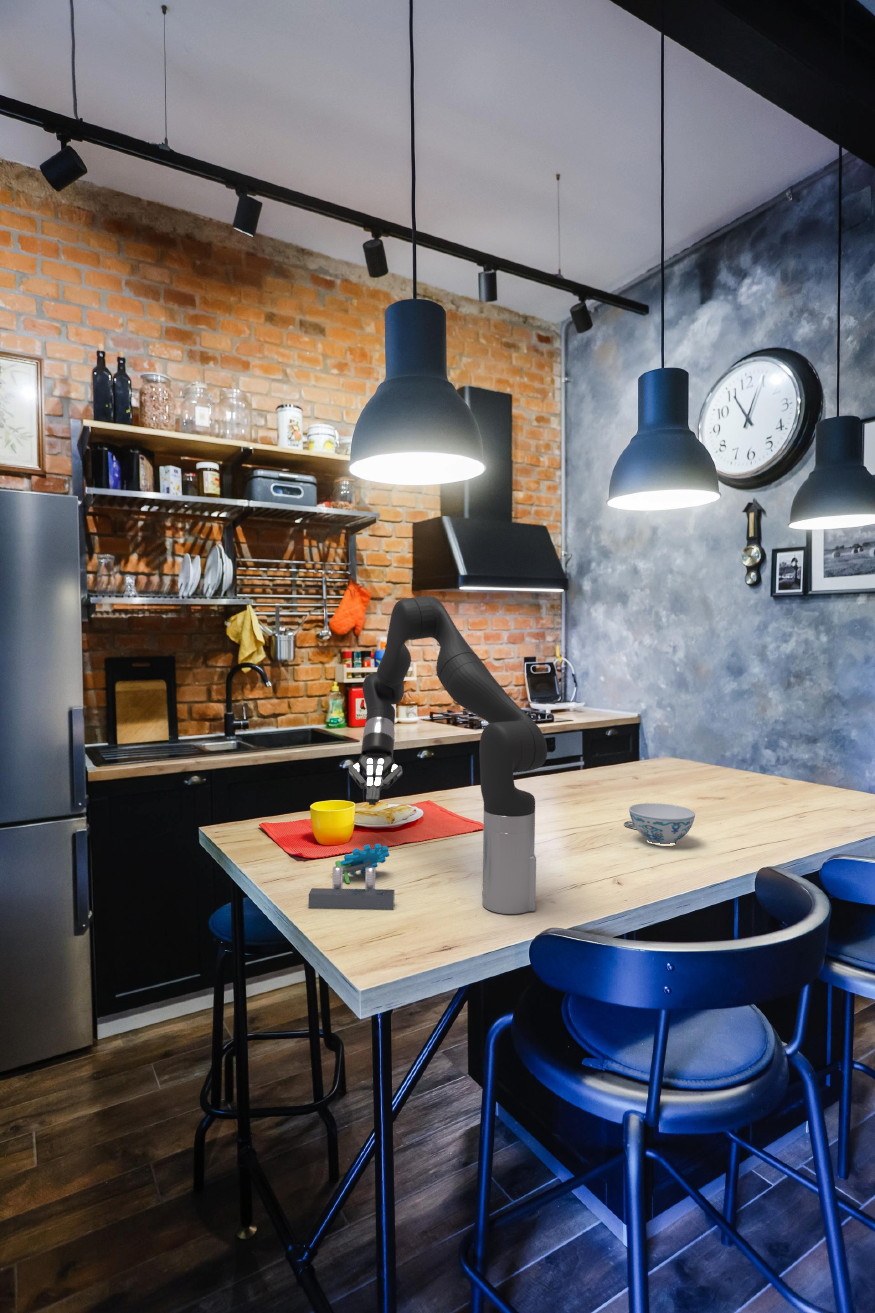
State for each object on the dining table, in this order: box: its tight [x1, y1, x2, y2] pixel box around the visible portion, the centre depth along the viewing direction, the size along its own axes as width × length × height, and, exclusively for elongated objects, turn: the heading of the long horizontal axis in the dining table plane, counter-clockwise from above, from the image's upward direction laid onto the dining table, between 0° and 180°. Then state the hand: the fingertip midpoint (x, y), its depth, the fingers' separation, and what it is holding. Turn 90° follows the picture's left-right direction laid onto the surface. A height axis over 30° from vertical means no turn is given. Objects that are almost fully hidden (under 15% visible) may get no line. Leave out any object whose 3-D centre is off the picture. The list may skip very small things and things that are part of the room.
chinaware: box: [628, 802, 696, 844], centre depth 171 cm, size 15×15×8 cm
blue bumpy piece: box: [334, 843, 390, 885], centre depth 142 cm, size 11×6×10 cm
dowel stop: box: [308, 865, 396, 911], centre depth 129 cm, size 15×5×6 cm, turn 89°
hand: (372, 803), depth 159 cm, fingers closed
